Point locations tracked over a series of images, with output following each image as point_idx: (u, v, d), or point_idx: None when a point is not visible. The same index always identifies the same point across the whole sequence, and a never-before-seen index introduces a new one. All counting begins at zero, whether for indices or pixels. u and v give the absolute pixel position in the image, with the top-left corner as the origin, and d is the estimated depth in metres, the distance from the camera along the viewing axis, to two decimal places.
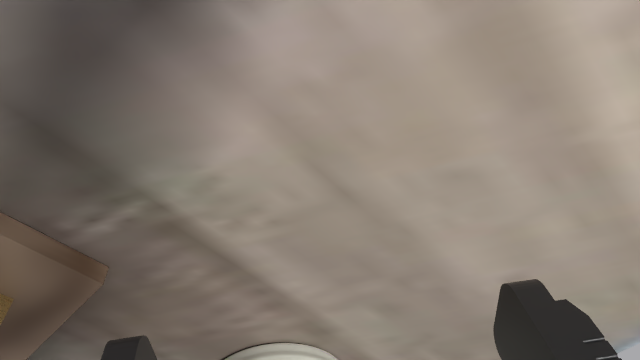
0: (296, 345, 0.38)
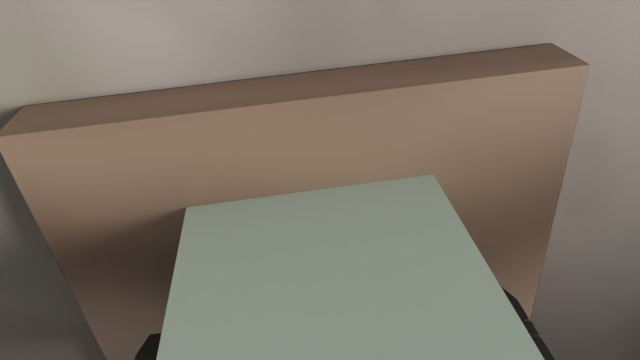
0: None
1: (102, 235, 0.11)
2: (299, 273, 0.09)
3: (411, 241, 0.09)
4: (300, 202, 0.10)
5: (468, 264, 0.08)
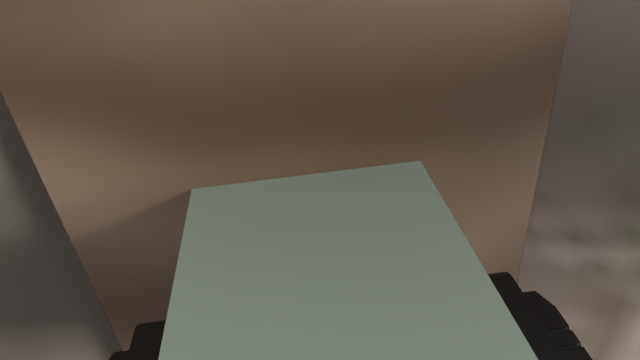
0: None
1: None
2: (295, 244, 0.09)
3: (397, 218, 0.10)
4: (296, 184, 0.11)
5: (448, 237, 0.09)
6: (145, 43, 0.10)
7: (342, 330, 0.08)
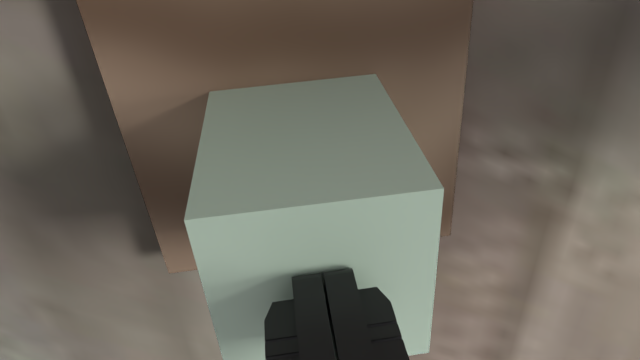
0: None
1: None
2: (282, 117, 0.14)
3: (354, 103, 0.14)
4: (285, 87, 0.16)
5: (386, 111, 0.14)
6: None
7: (310, 152, 0.12)
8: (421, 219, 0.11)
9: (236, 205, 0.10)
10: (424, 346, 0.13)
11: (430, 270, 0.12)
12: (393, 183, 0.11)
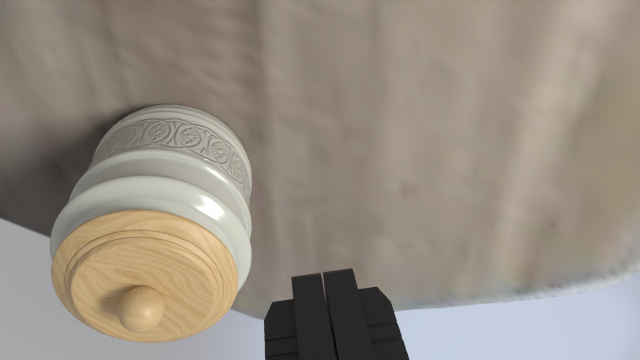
0: (233, 133, 0.41)
1: None
2: None
3: None
4: None
5: None
6: None
7: None
8: None
9: None
10: None
11: None
12: None
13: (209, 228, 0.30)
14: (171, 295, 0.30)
